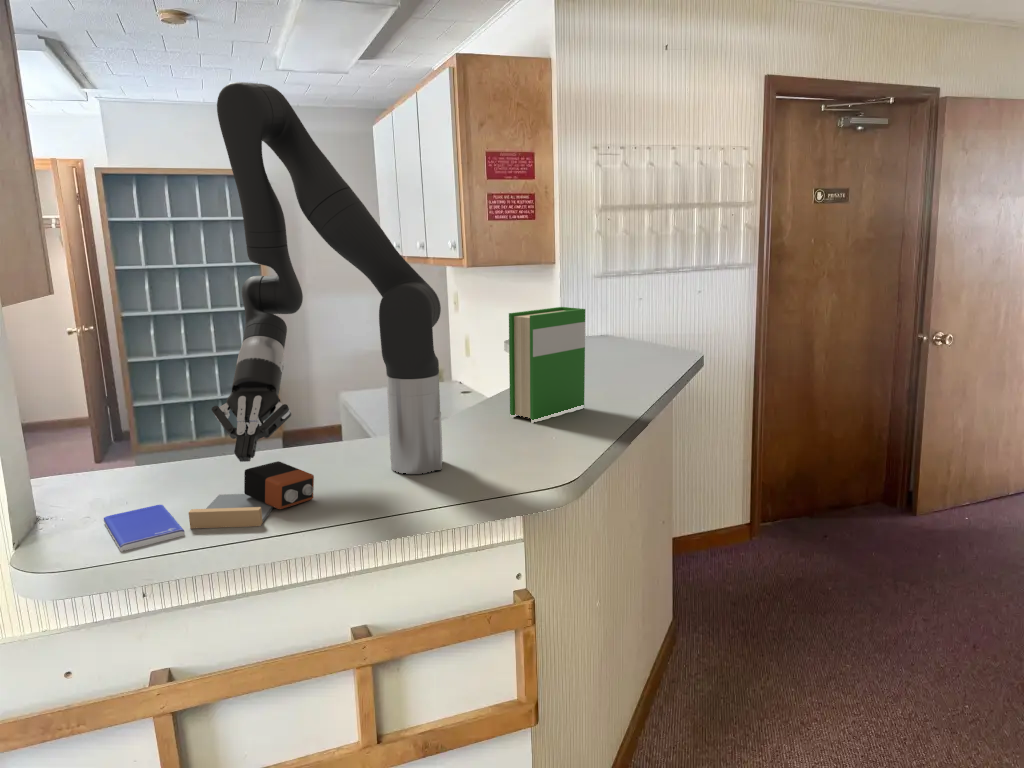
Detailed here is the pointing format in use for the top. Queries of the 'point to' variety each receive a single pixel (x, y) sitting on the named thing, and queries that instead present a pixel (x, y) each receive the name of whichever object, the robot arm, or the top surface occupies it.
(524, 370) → the hardback book
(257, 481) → the battery
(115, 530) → the hard drive
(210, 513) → the dough scraper
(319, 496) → the top surface
